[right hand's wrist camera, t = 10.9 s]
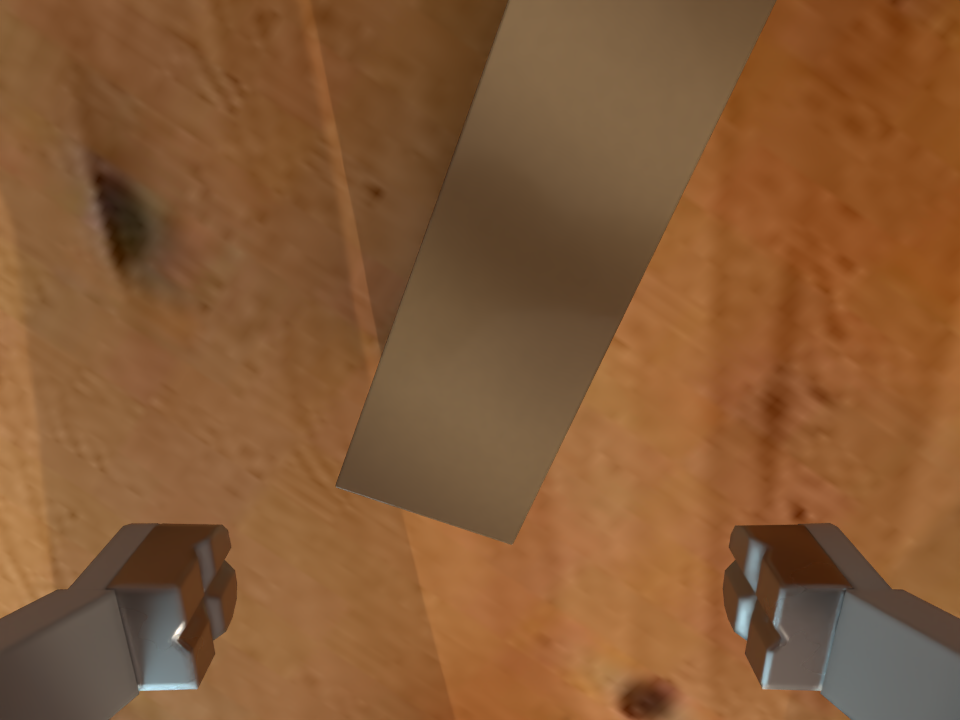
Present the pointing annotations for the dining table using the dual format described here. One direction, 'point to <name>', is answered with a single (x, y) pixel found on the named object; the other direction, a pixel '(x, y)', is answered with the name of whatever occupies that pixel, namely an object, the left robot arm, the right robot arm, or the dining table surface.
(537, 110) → the cabinet
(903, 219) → the dining table surface
